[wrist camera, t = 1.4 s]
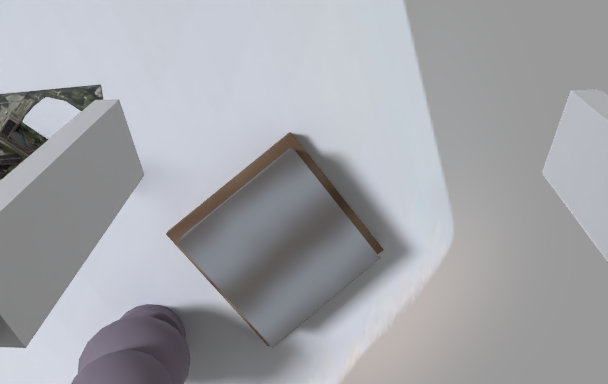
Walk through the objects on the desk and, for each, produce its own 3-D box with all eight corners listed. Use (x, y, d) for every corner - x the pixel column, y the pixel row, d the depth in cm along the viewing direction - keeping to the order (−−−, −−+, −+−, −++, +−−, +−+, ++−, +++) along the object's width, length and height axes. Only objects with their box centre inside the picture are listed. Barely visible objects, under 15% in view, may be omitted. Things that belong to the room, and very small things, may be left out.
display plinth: (168, 230, 37) (159, 242, 32) (289, 132, 37) (295, 131, 33) (267, 338, 39) (270, 363, 35) (378, 245, 40) (395, 258, 35)
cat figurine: (103, 383, 37) (39, 493, 26) (95, 301, 36) (26, 375, 25) (198, 373, 39) (179, 473, 27) (193, 293, 38) (171, 361, 26)
